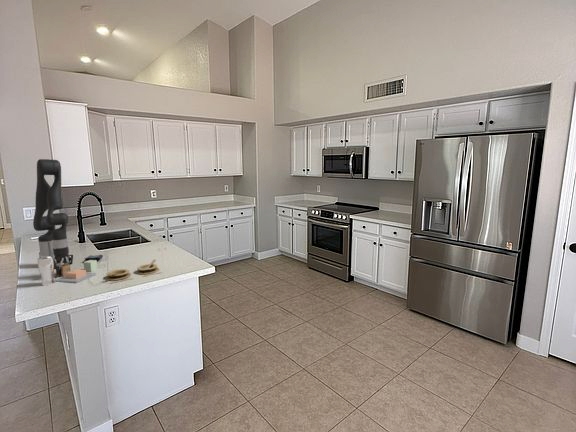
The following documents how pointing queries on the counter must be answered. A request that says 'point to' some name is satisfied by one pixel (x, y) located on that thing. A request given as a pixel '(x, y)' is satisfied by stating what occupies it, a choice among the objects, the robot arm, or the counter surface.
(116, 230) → the counter surface
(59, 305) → the counter surface
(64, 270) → the block
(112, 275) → the tableware set
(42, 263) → the beer glass
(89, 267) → the block
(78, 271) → the plate
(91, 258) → the purple clover wallet
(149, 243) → the counter surface
